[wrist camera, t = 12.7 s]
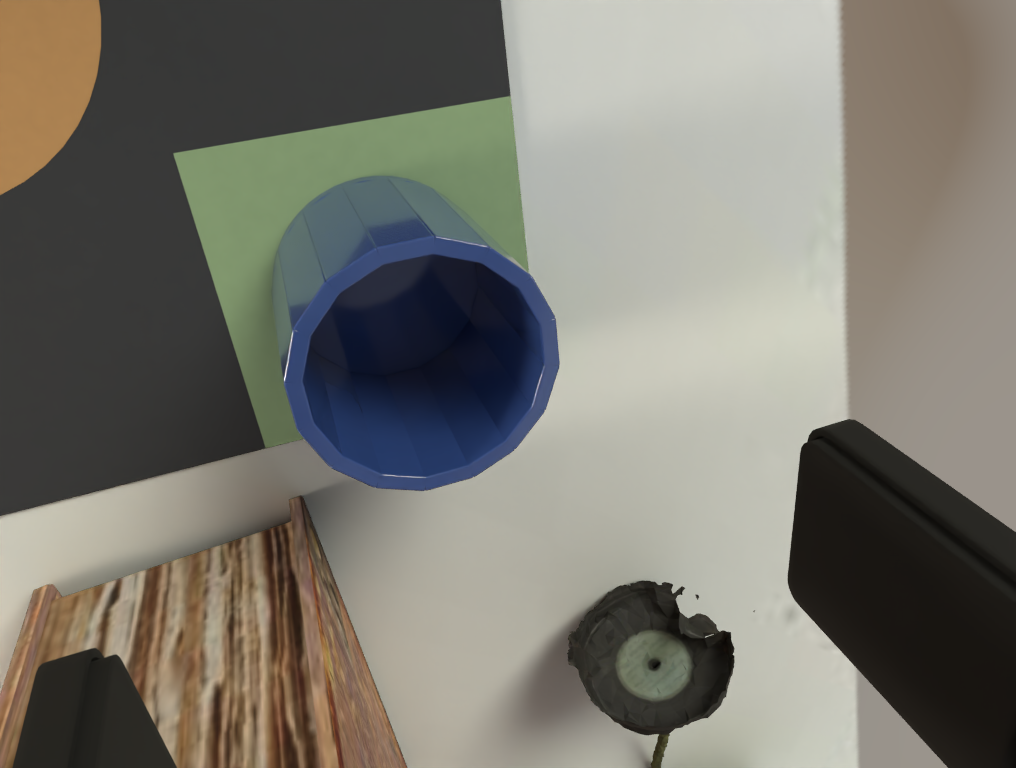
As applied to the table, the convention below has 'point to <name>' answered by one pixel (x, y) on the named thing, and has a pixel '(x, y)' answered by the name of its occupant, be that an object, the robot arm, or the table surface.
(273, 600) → the book
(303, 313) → the blue cup
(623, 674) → the artificial flower
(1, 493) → the desk mat
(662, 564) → the table surface
